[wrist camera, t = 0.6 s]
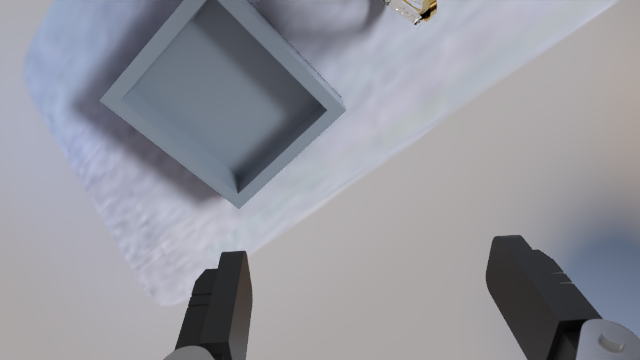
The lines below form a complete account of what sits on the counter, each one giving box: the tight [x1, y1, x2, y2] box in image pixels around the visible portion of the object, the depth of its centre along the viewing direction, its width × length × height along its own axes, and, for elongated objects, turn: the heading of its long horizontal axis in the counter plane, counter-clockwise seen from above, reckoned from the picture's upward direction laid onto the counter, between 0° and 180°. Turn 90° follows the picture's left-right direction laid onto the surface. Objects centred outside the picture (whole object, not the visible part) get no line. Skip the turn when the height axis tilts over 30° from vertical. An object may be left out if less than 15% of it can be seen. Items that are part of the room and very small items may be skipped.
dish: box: [99, 0, 346, 209], centre depth 32 cm, size 12×13×4 cm
